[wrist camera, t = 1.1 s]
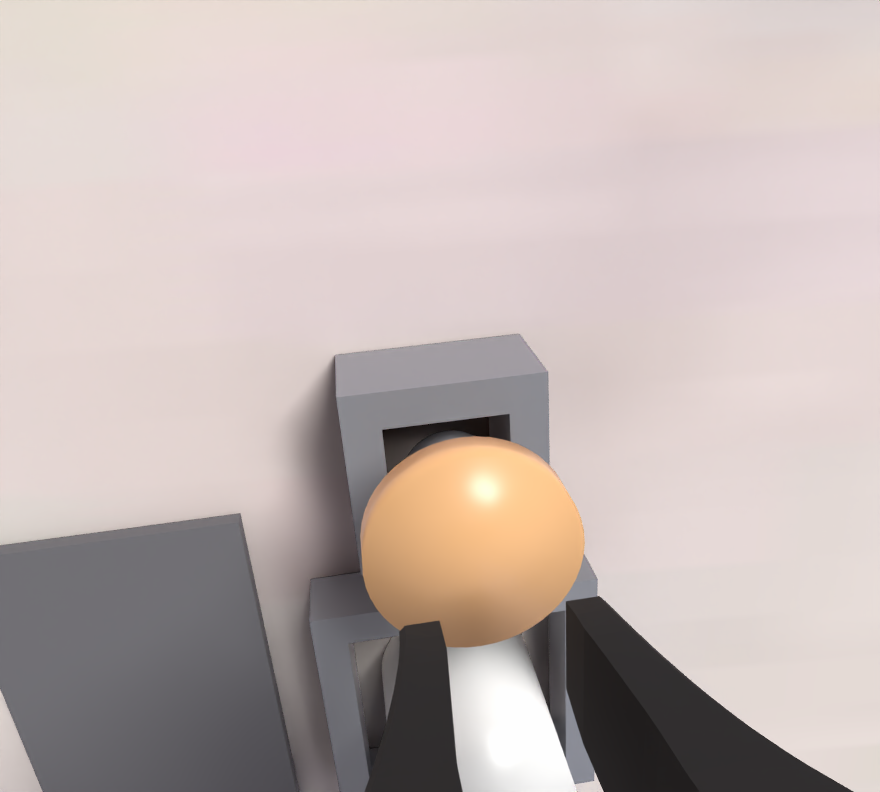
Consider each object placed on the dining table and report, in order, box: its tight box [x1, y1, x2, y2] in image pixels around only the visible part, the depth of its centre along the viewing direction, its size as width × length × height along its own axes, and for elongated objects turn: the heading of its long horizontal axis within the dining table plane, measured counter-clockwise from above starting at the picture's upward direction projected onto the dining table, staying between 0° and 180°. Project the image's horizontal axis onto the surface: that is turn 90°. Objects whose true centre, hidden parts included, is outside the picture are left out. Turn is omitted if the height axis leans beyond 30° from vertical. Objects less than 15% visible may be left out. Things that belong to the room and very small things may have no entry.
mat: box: [0, 514, 299, 792], centre depth 24 cm, size 12×8×1 cm, turn 4°
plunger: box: [360, 431, 585, 647], centre depth 17 cm, size 5×5×4 cm
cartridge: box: [382, 634, 577, 792], centre depth 22 cm, size 5×5×7 cm
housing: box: [309, 334, 598, 792], centre depth 22 cm, size 16×9×3 cm, turn 4°
